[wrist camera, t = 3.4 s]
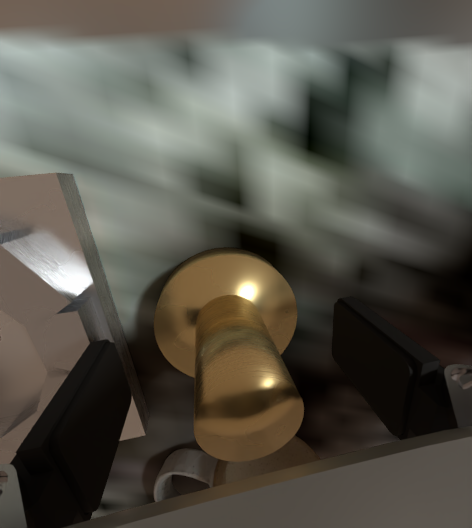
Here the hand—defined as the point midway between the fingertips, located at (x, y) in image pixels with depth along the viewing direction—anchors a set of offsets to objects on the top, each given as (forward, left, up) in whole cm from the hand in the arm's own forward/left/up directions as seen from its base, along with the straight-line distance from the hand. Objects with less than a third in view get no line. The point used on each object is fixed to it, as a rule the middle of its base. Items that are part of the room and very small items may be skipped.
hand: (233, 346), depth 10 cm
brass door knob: (0, 0, -3) cm, 3 cm away
